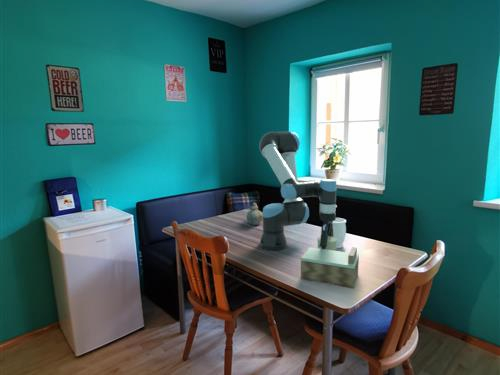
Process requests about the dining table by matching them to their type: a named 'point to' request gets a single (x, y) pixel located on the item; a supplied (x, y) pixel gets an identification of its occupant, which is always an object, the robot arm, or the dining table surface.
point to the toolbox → (329, 274)
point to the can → (329, 243)
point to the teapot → (254, 215)
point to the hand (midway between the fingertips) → (326, 255)
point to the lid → (331, 257)
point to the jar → (339, 231)
